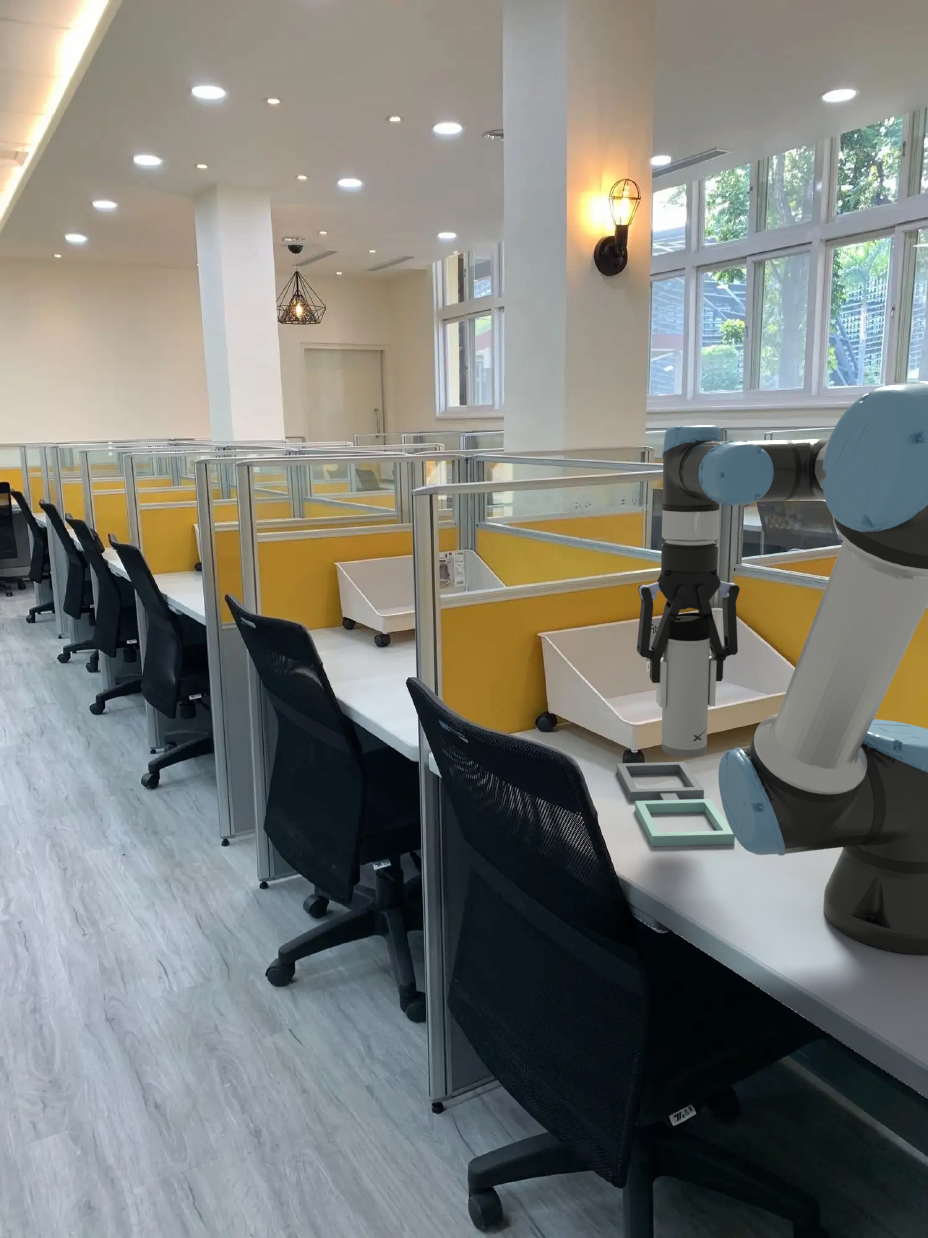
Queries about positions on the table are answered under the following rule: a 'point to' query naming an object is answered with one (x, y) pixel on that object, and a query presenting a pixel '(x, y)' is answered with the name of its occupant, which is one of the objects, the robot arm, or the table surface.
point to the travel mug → (686, 686)
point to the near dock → (684, 838)
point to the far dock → (647, 794)
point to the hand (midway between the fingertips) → (685, 703)
